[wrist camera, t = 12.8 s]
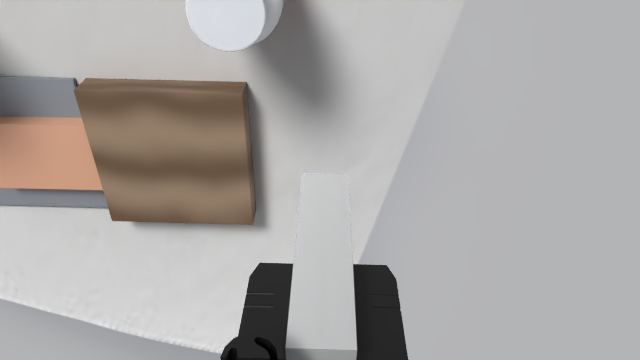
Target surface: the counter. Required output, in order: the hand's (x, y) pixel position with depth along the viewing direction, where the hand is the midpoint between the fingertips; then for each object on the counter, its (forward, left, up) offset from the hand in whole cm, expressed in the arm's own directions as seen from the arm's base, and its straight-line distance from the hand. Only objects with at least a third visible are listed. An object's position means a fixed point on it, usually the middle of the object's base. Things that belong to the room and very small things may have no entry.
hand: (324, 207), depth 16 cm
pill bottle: (-2, -6, -27) cm, 27 cm away
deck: (+14, -14, -26) cm, 33 cm away
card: (+14, -26, -26) cm, 40 cm away
